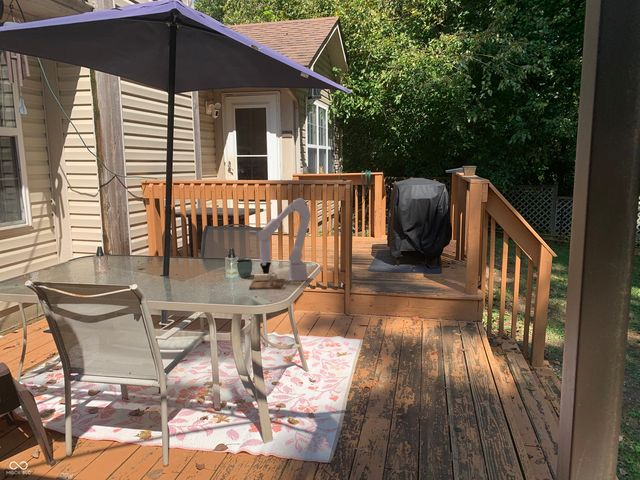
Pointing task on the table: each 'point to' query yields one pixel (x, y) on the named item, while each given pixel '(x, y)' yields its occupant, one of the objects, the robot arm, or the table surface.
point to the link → (263, 277)
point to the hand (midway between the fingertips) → (266, 276)
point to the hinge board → (267, 283)
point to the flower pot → (244, 267)
